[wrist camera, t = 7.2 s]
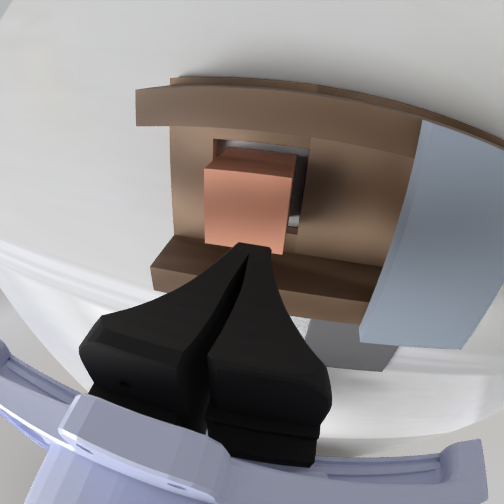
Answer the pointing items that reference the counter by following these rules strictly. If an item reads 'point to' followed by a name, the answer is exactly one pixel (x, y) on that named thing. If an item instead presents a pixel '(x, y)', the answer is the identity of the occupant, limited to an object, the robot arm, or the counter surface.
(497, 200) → the lid
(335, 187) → the brown tray
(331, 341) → the mat
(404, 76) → the counter surface
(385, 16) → the counter surface
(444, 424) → the counter surface
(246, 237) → the block
